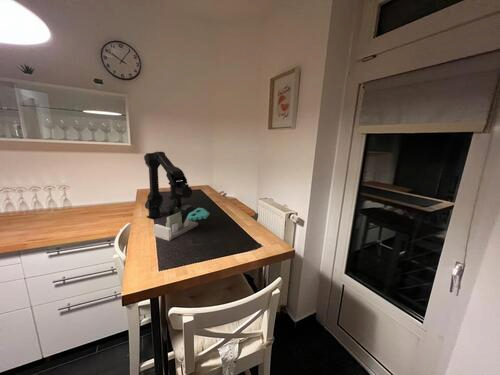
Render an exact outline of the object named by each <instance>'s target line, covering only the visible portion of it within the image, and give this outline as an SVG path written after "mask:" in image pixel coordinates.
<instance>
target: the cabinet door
mask: <svg viewBox="0 0 500 375" xmlns="http://www.w3.org/2000/svg"><path fill="white" fill-rule="evenodd" d="M180 213H181V211H179V212H176V213H174V215H171V216H169V215H168V216H166V223H167V227H168V228H171V232H172V225H173V224H175V223H178V228H180V227H182V226H183V224H182V215H181V214H180Z"/></svg>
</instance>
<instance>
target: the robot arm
mask: <svg viewBox="0 0 500 375" xmlns="http://www.w3.org/2000/svg"><path fill="white" fill-rule="evenodd" d="M143 159H144V161H145V165H146V166H147V167H148V176H149V193H148V195H147V200H146V202H145V204H144V207H145V209H147V211H148V215H147V216H146V218H148V219H151V220H155V219H159V218H161V217H163V215H162V214H161V210H160V209H162V211H163V212H166V213H167V215H168V217H169V216H171V215H174V214H175V209H178V210H180V212H181V213H180V214H181V215H182V224H183V223H184V222H185V220H186V218H187V216H188V214H189V213H190V212H192V211H194V210H195V207H194V206H193V205H191V204H186V205H185V202H183V198H185V199H189V198H190V197H192V195H193V190H192V188H191V186H189V184H188V179H187V177H186V175H185V173H184V171H183V170H182V169H181V168H180V167H178V166H175V165H174V164H173V163H172V161H171V160H170V159H169V158H168V157H167V155H166V152H164V151H155V152H146V153H145V155H144V157H143ZM160 165H161V167H162V168H163V169H164V171H165V172H166V178H167V180H168V181H169V182H168V185H169V187H170V195H169V196H168V199H167V200H163V195H162V194H161V192H160V186H159V183H160V182H159V167H160Z"/></svg>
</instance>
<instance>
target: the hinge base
mask: <svg viewBox="0 0 500 375" xmlns="http://www.w3.org/2000/svg"><path fill="white" fill-rule="evenodd" d="M197 226H199V222H196V221H194V220H192V221H189V220H188V218H186V220H185V222H184V223H183V226H182V227H180V228H178V223H175V224H173V225H172V232H171V228H168V227H167V222H166V223H165V226H164V225H161V224H157V223H156V224H153V234H154V237H156V238H159V239H162V240H165V241H168V242H169V241H171V240H174V239H176V238H178V237H179V236H180V235H182V234H185V233H186V232H188V231H190V230H192V229H194V228H196V227H197Z"/></svg>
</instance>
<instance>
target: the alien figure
mask: <svg viewBox="0 0 500 375" xmlns="http://www.w3.org/2000/svg"><path fill="white" fill-rule="evenodd" d="M208 217H210V212H208V210H207V209H205V207H204V208H203V207H197V208H196V209H194V211H192V212H190V213H189V214H188V216H187V218H188V220H189V221H194V222H196V221H197V220H202V219H205V220H206V219H207V218H208Z"/></svg>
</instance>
